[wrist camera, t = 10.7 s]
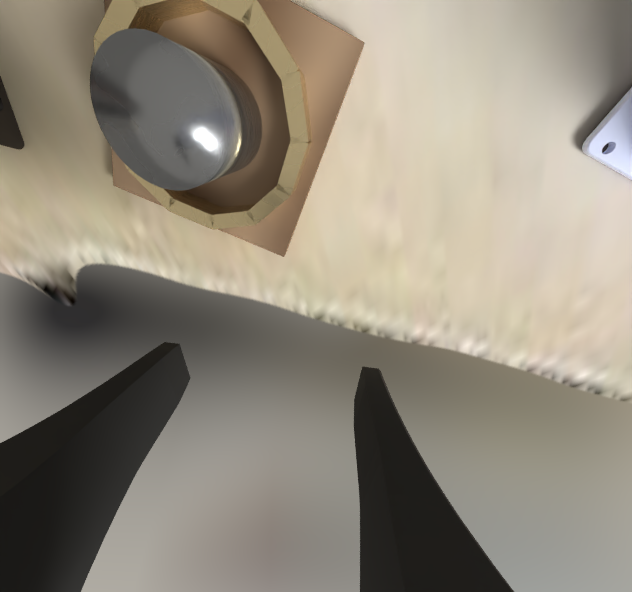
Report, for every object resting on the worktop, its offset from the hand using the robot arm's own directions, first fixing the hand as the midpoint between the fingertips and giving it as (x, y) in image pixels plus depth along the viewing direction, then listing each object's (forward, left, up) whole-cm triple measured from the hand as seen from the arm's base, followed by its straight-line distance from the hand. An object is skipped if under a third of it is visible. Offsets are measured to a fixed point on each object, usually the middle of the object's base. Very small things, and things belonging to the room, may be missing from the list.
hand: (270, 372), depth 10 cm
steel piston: (+7, -6, -9) cm, 13 cm away
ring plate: (+7, -6, -9) cm, 13 cm away
